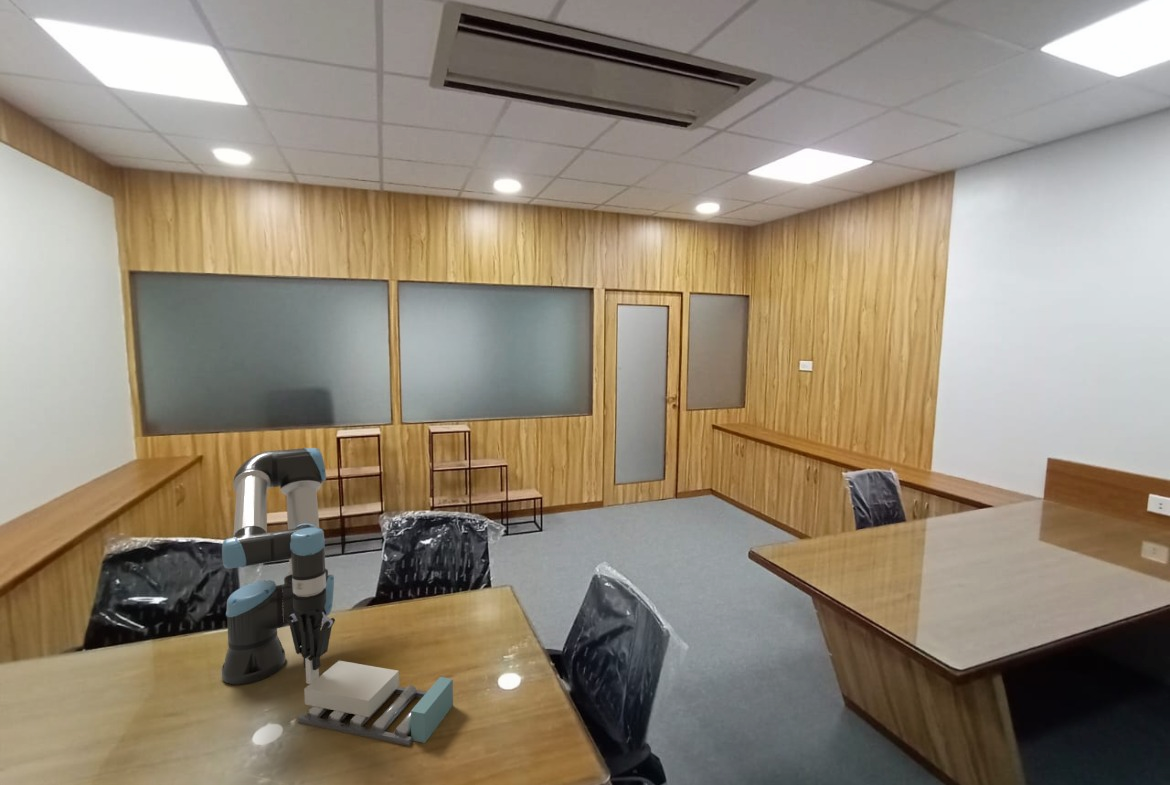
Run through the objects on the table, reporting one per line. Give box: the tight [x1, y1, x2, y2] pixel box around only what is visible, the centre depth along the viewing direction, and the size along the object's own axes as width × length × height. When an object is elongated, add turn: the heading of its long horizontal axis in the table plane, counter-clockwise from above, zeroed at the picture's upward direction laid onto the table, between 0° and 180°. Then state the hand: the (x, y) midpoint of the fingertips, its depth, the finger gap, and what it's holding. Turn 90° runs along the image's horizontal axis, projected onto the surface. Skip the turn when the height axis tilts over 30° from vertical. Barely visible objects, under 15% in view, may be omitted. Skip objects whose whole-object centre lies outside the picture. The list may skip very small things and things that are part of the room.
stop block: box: [410, 676, 454, 744], centre depth 124 cm, size 4×13×7 cm, turn 166°
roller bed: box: [297, 685, 428, 747], centre depth 128 cm, size 16×30×3 cm, turn 76°
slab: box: [303, 660, 400, 717], centre depth 129 cm, size 18×12×4 cm, turn 76°
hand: (312, 680), depth 132 cm, fingers closed
